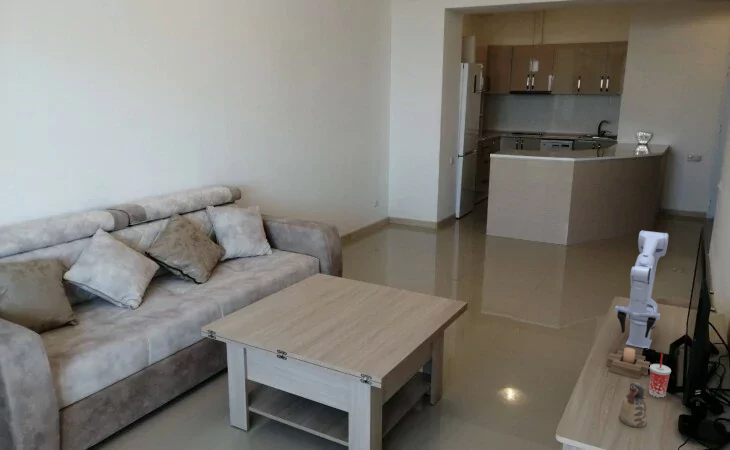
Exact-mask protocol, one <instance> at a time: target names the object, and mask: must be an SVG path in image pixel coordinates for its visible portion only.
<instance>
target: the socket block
mask: <svg viewBox="0 0 730 450" xmlns="http://www.w3.org/2000/svg"><path fill="white" fill-rule="evenodd" d="M623 356H624V350H623V351H622V350H619V349H618V350H617V352H616V353H611V352H610V353H609V354H608V355H607V359H606V367H609V368H610V371H609V372H610V373H613V374H616V375H617V374H618V375H621V376H625V377H629V378H634V379H636V380H637V379H638V380H639V379H640V377H641V375H642V374H643V375H642V376H646V375H647V376H648V374H649V372H648V369H649V370H650V367H649V365H651V362H650V361H647V360H646V356H645V355H641V354H636V353H635V358H634V364H630V363H626V362H623ZM644 360H645V361H644Z"/></svg>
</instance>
